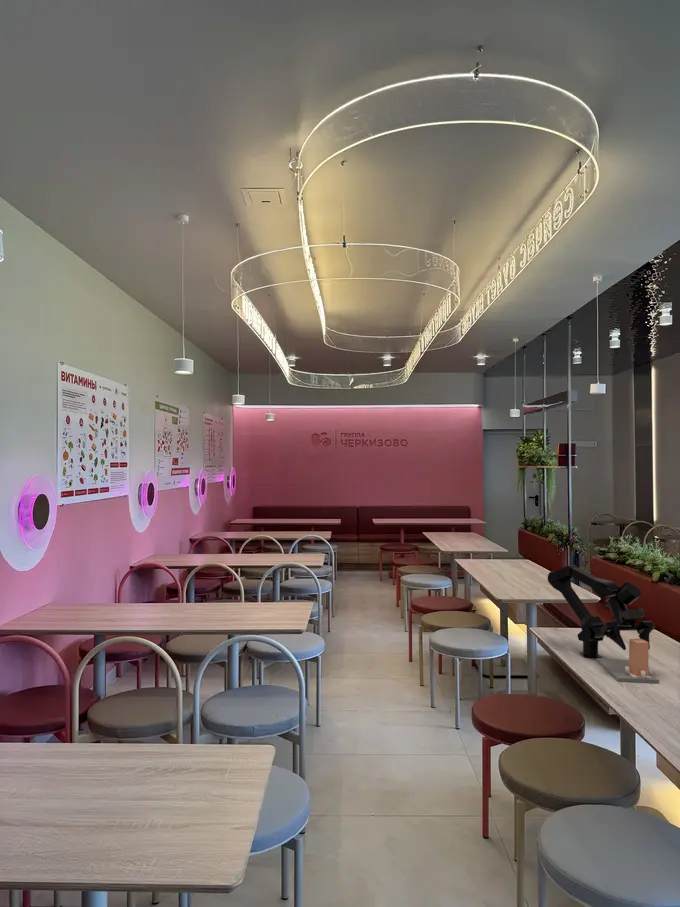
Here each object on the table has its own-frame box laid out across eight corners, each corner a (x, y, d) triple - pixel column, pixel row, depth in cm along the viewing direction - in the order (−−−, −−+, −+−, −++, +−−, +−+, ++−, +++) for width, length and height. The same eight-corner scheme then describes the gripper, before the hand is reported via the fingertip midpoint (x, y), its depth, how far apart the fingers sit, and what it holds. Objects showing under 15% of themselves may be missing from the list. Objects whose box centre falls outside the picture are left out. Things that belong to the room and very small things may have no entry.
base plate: (596, 661, 235) (596, 651, 235) (633, 662, 234) (633, 653, 234) (617, 681, 213) (618, 670, 213) (659, 683, 212) (659, 672, 212)
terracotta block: (628, 672, 219) (629, 638, 220) (640, 671, 220) (640, 638, 220) (636, 676, 215) (637, 642, 215) (648, 676, 216) (648, 642, 216)
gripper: (605, 599, 223) (622, 638, 212) (652, 599, 225) (671, 638, 214) (593, 615, 231) (609, 653, 220) (638, 615, 233) (656, 653, 222)
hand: (637, 649), depth 219 cm, fingers open, 9 cm apart
